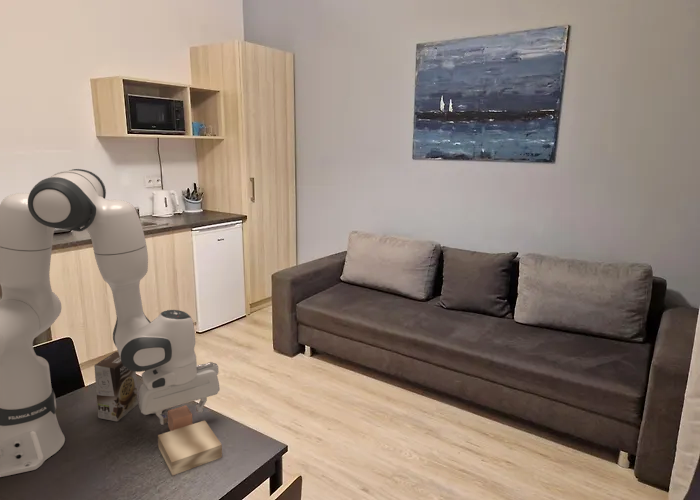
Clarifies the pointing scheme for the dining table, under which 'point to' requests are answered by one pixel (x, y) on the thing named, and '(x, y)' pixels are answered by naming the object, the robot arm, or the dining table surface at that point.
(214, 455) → the birch block
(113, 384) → the coffee box
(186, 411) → the terracotta cube
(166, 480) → the dining table surface
